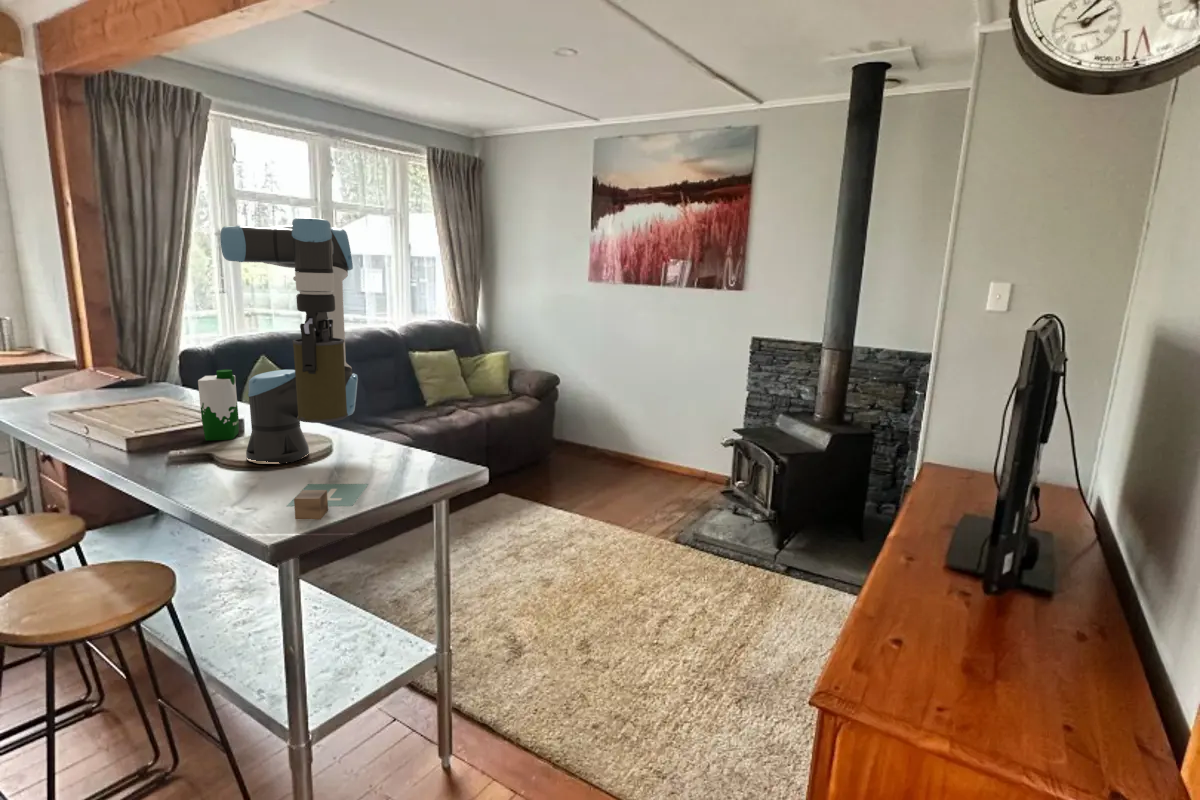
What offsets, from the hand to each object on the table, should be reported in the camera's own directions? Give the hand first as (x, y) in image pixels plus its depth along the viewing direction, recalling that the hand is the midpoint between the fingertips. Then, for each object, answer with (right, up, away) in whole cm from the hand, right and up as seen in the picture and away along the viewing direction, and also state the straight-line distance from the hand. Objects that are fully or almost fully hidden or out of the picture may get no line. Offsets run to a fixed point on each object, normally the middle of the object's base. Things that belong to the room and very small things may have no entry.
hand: (321, 397), depth 139 cm
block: (+1, -25, -6) cm, 26 cm away
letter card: (-1, -23, +5) cm, 23 cm away
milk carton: (-50, -12, +47) cm, 70 cm away
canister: (0, -5, +1) cm, 5 cm away
